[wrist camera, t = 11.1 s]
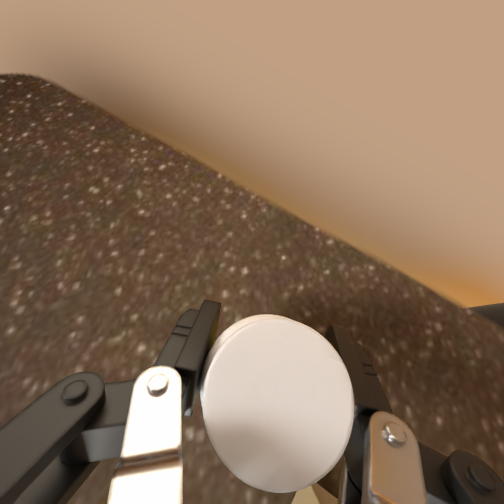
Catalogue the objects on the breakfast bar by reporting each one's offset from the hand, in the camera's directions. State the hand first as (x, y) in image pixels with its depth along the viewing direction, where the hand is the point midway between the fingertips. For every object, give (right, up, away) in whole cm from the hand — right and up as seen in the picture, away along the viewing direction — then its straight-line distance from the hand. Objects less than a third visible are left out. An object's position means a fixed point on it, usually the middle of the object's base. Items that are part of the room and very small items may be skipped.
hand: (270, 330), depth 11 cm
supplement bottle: (-1, -3, +3) cm, 5 cm away
